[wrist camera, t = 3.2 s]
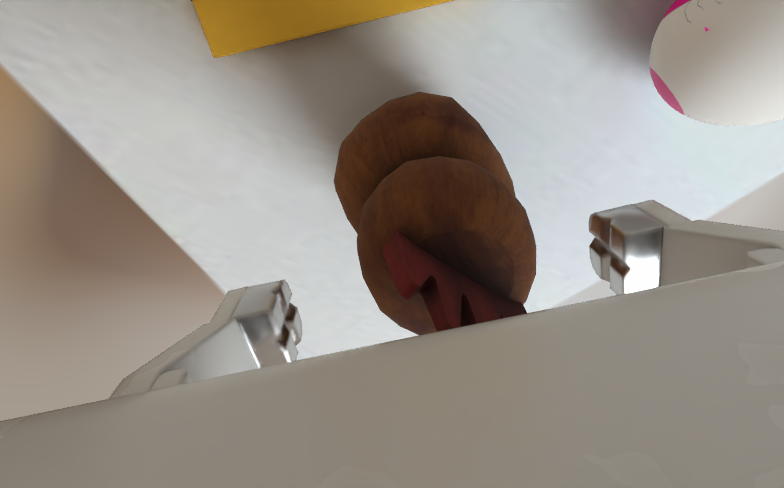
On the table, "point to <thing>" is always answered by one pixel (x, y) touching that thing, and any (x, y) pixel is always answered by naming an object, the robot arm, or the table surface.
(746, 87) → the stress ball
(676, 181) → the table surface
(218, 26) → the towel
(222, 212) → the table surface
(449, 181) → the wooden figurine
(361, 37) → the table surface
